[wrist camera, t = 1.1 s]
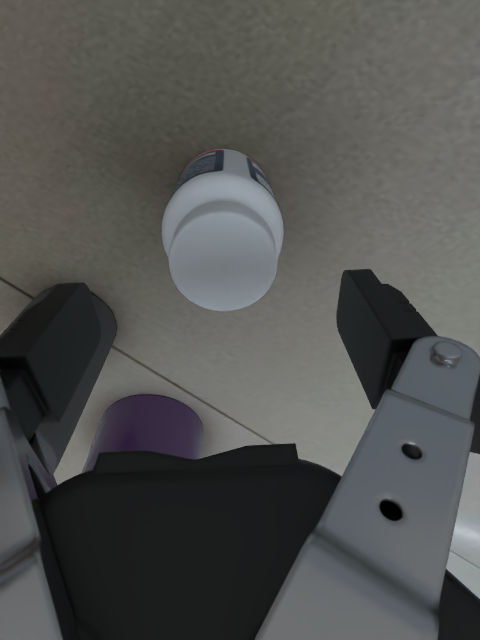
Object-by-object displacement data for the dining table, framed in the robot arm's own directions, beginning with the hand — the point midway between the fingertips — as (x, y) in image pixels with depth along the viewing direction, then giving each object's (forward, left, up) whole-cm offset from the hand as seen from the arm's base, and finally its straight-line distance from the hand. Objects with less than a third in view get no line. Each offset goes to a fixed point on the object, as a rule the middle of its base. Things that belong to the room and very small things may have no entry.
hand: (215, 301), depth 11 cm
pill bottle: (0, 0, -11) cm, 11 cm away
